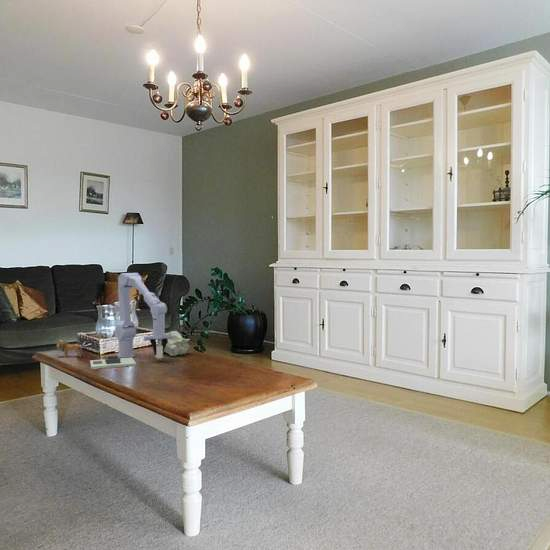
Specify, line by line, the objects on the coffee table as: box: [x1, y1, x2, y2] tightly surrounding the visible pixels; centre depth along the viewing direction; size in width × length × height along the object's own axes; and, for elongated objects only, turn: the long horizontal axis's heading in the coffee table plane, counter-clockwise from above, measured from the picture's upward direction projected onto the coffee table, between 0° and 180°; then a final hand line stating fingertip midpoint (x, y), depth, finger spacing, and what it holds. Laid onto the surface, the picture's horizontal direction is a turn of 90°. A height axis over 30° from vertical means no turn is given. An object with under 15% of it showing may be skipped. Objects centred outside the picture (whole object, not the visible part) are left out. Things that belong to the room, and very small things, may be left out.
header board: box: [89, 355, 137, 370], centre depth 237 cm, size 15×20×3 cm
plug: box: [154, 343, 164, 359], centre depth 244 cm, size 5×3×6 cm, turn 23°
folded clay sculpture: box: [158, 330, 191, 357], centre depth 262 cm, size 18×13×16 cm
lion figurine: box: [56, 339, 86, 358], centre depth 254 cm, size 15×5×9 cm, turn 95°
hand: (158, 354), depth 244 cm, fingers closed on plug, 3 cm apart
